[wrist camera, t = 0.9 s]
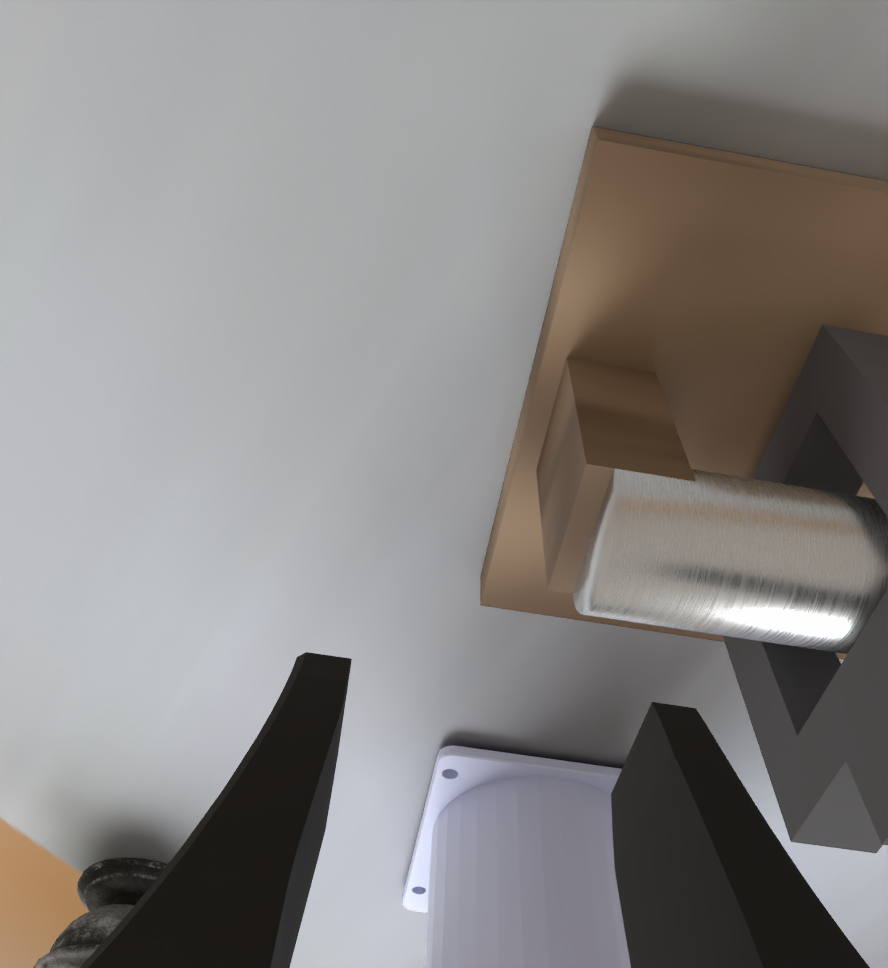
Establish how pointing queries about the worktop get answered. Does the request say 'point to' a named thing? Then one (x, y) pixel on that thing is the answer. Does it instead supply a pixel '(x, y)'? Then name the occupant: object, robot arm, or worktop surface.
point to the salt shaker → (101, 908)
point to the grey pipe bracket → (816, 673)
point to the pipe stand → (692, 402)
